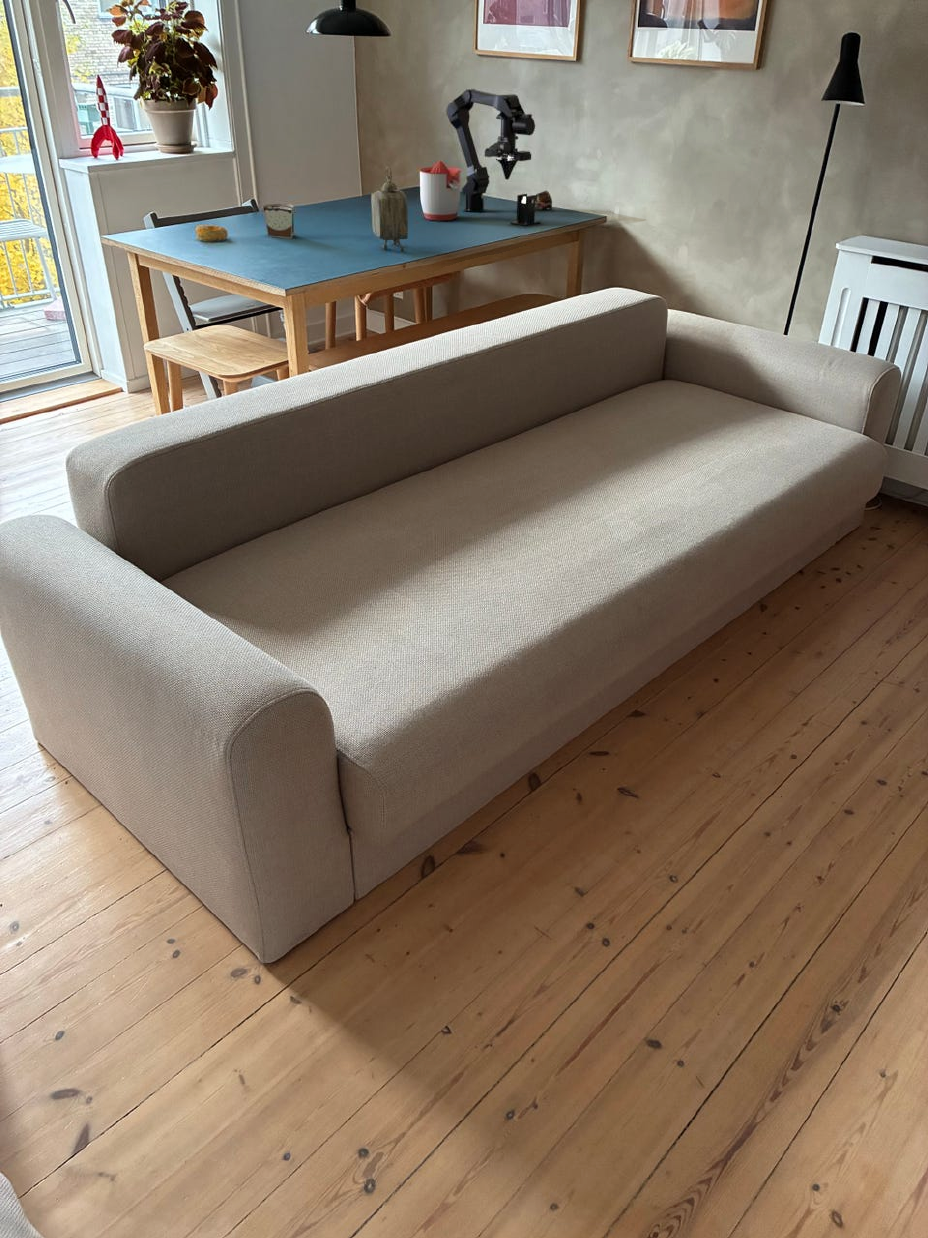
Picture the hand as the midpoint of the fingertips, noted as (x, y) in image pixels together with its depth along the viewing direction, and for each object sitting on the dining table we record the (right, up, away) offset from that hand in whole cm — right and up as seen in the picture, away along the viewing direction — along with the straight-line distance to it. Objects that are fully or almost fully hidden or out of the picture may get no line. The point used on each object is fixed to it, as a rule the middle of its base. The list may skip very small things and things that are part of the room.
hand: (507, 179), depth 359 cm
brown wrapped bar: (+9, -14, -9) cm, 19 cm away
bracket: (+6, -21, -8) cm, 23 cm away
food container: (-80, -32, -25) cm, 90 cm away
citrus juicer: (-25, -15, +2) cm, 29 cm away
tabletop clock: (-41, -43, -43) cm, 73 cm away
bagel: (-103, -36, -31) cm, 114 cm away
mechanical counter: (+12, -5, +17) cm, 22 cm away
